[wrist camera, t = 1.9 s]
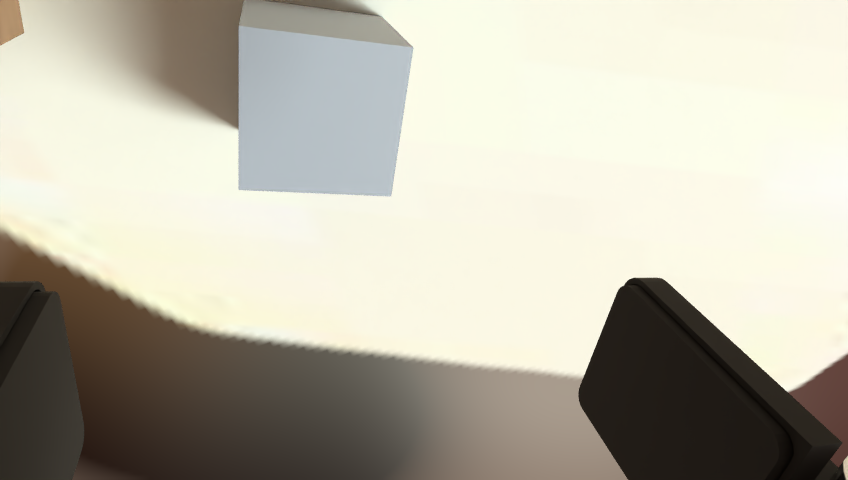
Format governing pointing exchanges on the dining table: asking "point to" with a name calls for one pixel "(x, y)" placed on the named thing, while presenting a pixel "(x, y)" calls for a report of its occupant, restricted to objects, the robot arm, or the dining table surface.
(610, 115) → the dining table surface
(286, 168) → the slate block
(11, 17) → the brown wooden block
